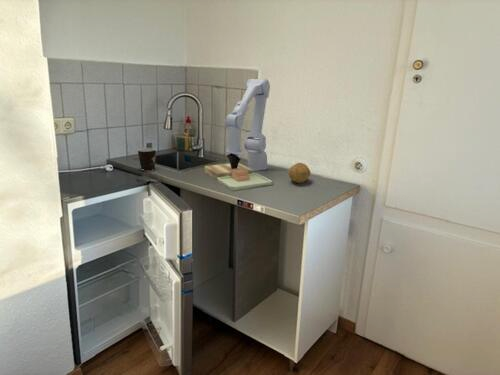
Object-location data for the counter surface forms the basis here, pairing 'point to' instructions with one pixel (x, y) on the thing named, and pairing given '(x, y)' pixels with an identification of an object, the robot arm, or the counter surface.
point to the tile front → (241, 178)
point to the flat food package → (223, 170)
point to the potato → (299, 172)
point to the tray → (244, 182)
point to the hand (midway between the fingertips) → (234, 169)
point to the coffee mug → (147, 158)
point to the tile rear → (239, 172)
